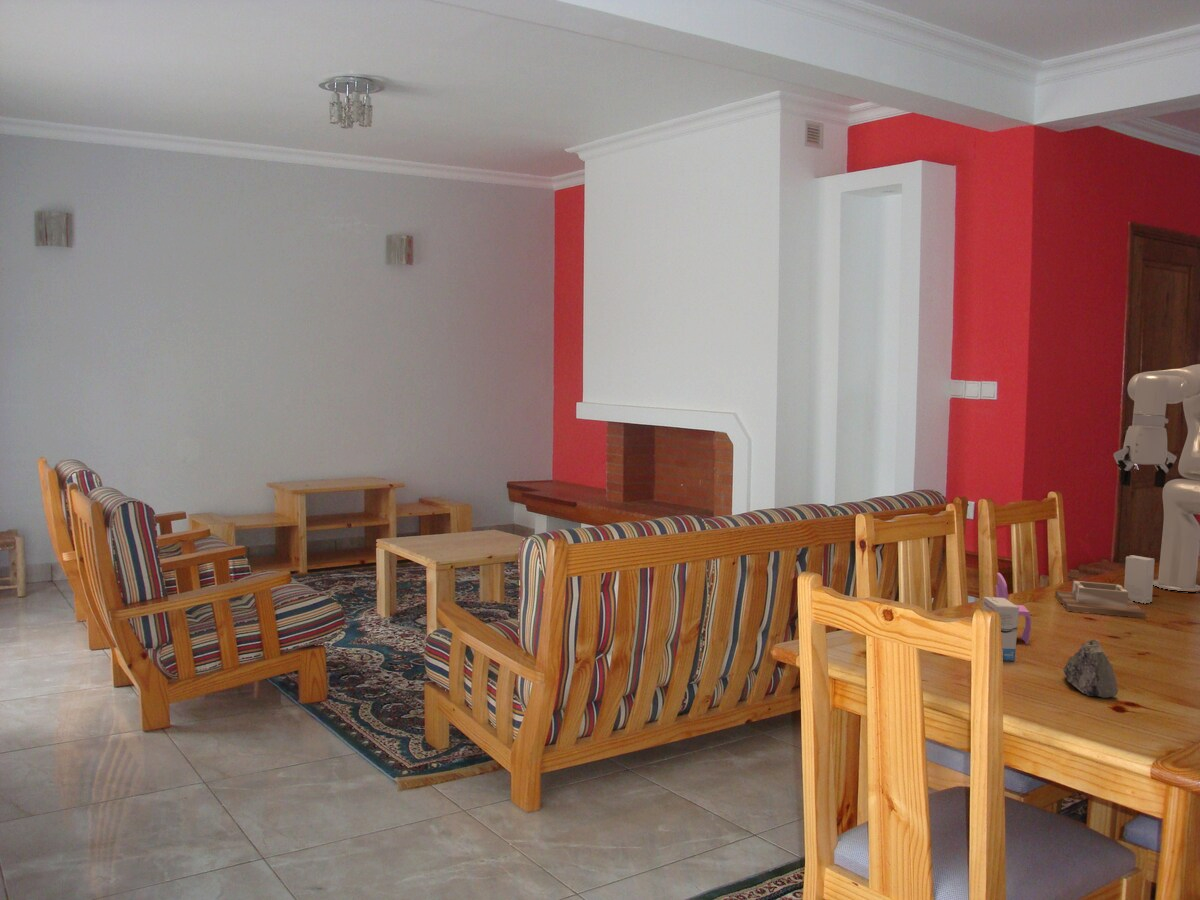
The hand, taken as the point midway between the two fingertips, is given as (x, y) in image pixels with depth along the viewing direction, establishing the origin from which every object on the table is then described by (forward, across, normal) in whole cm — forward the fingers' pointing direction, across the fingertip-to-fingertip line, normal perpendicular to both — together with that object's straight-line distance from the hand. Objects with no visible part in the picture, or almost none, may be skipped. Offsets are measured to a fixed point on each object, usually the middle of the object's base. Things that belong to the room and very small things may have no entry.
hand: (1142, 486), depth 274 cm
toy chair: (+33, +54, +36) cm, 73 cm away
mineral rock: (+33, +55, +70) cm, 95 cm away
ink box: (+33, +63, +49) cm, 87 cm away
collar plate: (+32, +12, +5) cm, 34 cm away
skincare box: (+32, -3, -2) cm, 32 cm away
